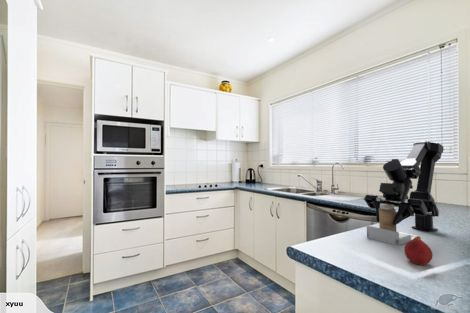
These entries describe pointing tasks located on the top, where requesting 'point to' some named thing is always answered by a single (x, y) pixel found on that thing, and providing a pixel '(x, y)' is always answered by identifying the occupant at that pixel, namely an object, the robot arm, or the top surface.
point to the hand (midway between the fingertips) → (385, 222)
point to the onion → (418, 251)
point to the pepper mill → (387, 217)
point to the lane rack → (388, 235)
